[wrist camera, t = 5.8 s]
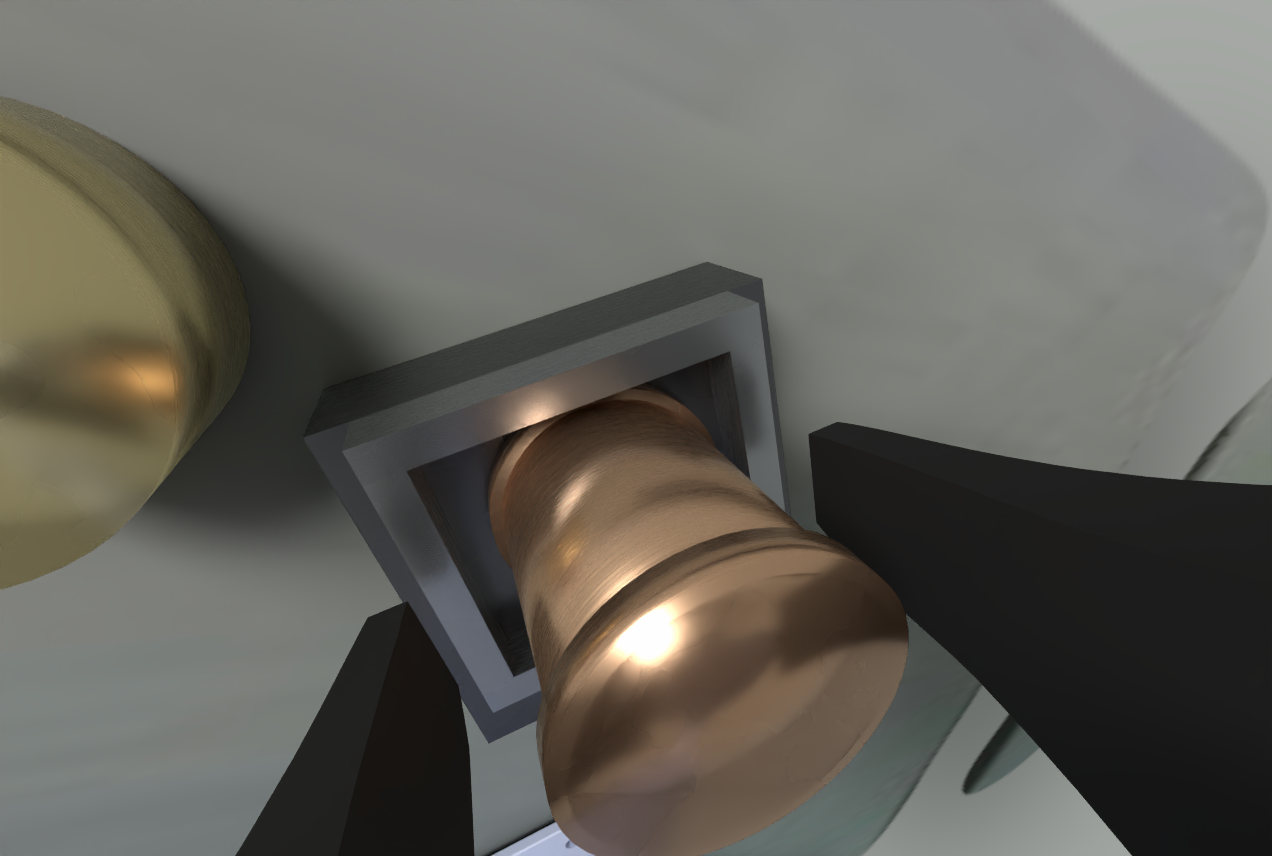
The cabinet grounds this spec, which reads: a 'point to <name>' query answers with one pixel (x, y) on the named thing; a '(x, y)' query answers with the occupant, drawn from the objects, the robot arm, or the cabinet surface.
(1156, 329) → the cabinet surface
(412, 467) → the gray square open box
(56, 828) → the cabinet surface
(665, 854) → the copper flared cylinder
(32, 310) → the gold short rounded piece
